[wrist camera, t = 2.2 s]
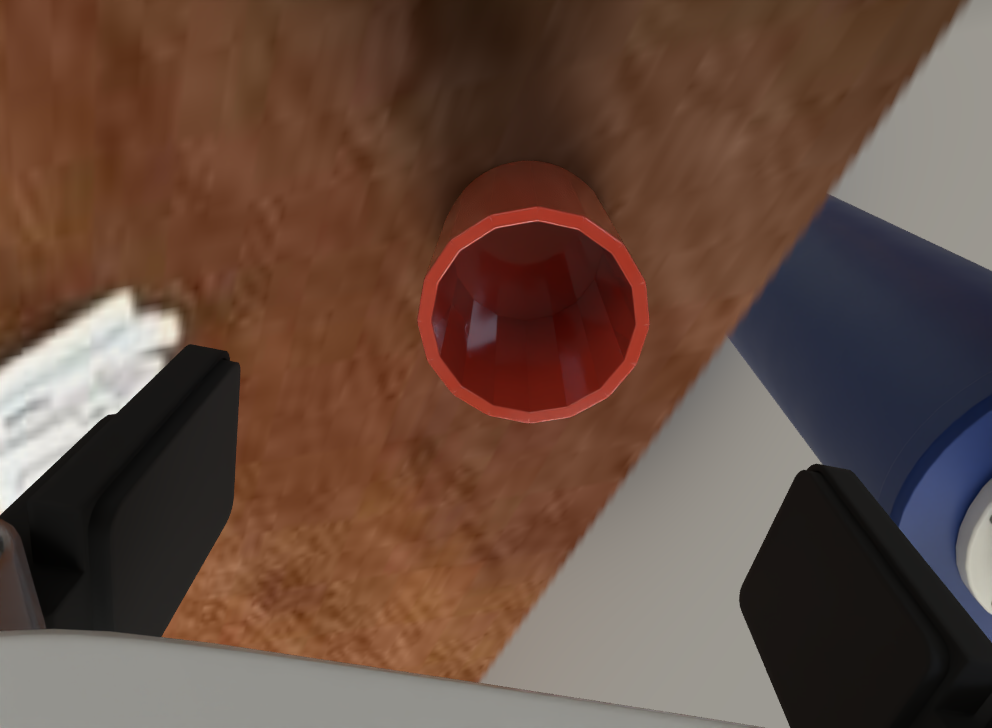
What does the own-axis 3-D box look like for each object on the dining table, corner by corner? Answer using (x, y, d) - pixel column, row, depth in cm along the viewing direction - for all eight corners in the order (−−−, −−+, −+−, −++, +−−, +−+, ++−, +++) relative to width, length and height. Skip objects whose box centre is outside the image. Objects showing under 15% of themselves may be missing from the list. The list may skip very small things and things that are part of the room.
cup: (630, 181, 25) (680, 236, 18) (585, 336, 28) (611, 440, 20) (460, 143, 24) (440, 185, 17) (431, 305, 27) (403, 399, 20)
